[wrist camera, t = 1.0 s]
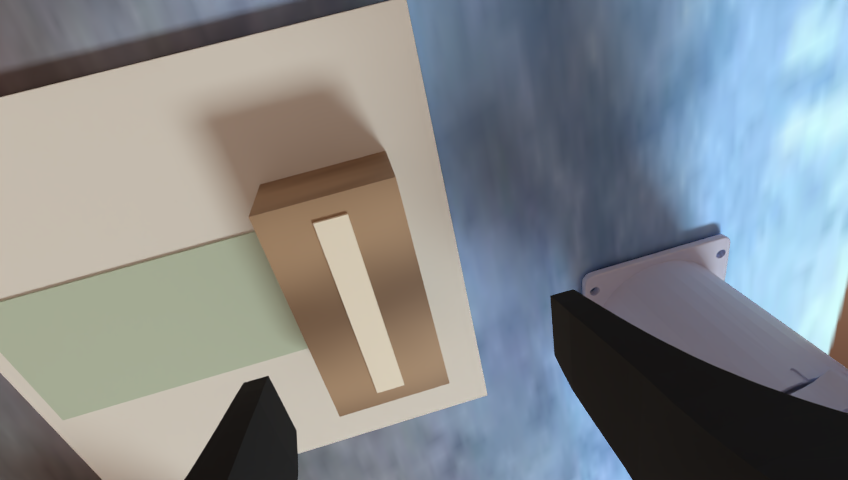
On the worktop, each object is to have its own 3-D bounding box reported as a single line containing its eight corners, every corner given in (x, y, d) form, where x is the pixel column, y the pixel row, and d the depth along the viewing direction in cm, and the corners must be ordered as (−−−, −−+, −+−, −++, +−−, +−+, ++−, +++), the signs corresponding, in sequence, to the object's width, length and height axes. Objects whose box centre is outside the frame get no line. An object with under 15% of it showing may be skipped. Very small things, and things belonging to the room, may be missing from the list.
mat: (484, 387, 26) (488, 396, 25) (131, 495, 25) (126, 508, 24) (402, -3, 16) (406, -3, 15) (-192, 144, 15) (-214, 151, 14)
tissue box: (435, 339, 23) (450, 384, 20) (338, 368, 22) (339, 418, 20) (385, 150, 18) (396, 177, 15) (259, 184, 18) (247, 218, 15)
